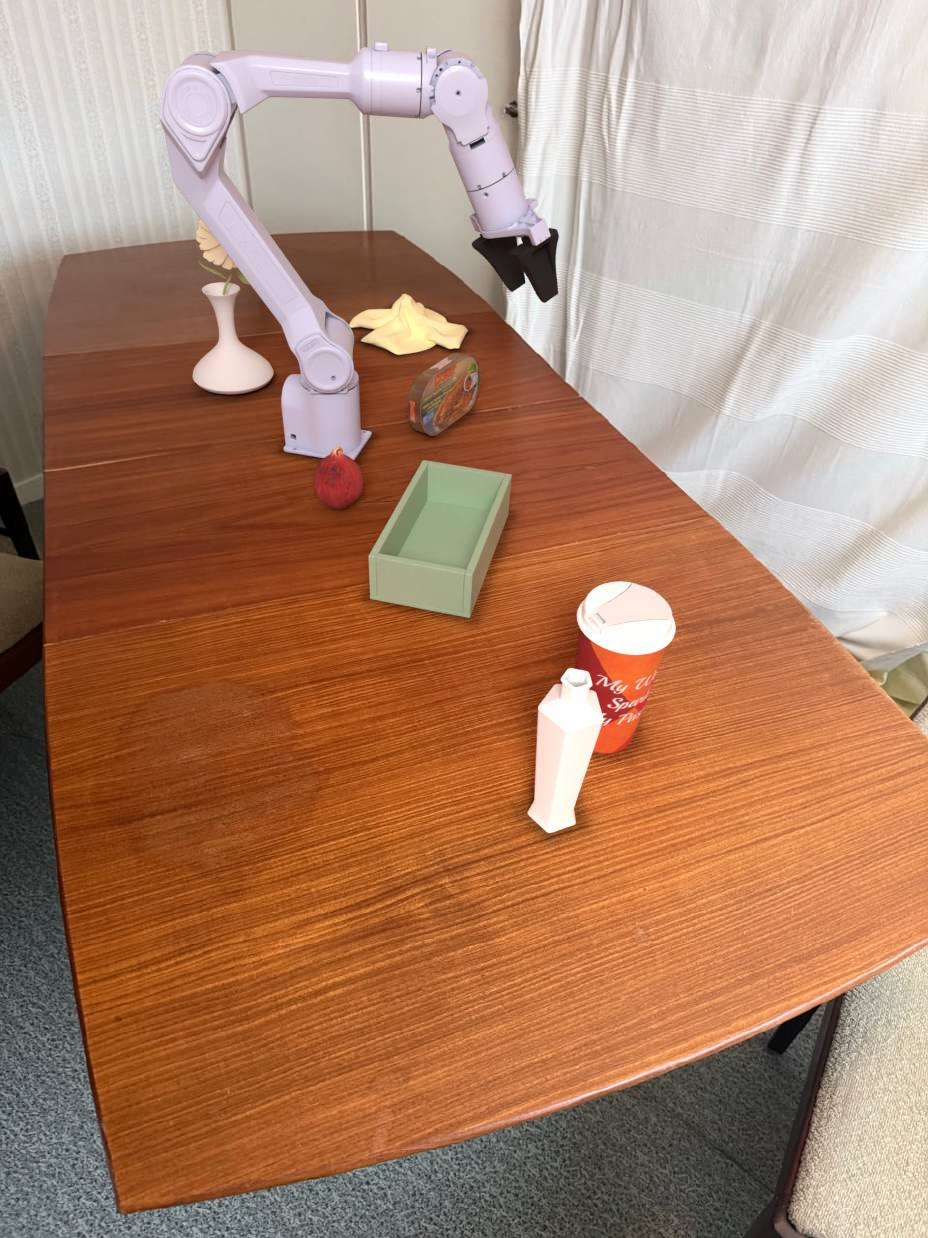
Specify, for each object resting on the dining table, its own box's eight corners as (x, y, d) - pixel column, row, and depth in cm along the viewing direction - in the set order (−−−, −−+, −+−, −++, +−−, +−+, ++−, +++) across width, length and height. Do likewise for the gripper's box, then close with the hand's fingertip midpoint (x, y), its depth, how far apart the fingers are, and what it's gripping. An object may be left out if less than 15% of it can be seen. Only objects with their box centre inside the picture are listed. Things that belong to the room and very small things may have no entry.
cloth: (485, 347, 135) (487, 309, 131) (377, 362, 129) (376, 323, 125) (433, 299, 150) (434, 264, 146) (334, 311, 144) (332, 274, 140)
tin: (422, 445, 110) (423, 386, 104) (403, 438, 111) (402, 379, 105) (481, 404, 120) (484, 347, 114) (462, 398, 121) (465, 341, 115)
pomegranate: (356, 526, 95) (353, 464, 90) (308, 518, 96) (302, 457, 91) (370, 499, 99) (368, 439, 94) (324, 492, 100) (319, 432, 95)
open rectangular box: (369, 599, 85) (368, 556, 82) (422, 499, 100) (422, 459, 96) (469, 618, 84) (472, 575, 80) (508, 514, 98) (512, 474, 95)
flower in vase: (178, 392, 118) (140, 202, 102) (224, 362, 126) (196, 181, 110) (256, 411, 115) (231, 218, 99) (299, 379, 123) (282, 196, 107)
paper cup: (589, 775, 69) (617, 653, 60) (541, 714, 74) (560, 592, 65) (664, 744, 72) (701, 623, 63) (613, 687, 77) (640, 567, 68)
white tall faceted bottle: (519, 790, 68) (537, 656, 58) (571, 788, 68) (598, 654, 58) (526, 838, 64) (547, 704, 54) (582, 835, 65) (613, 702, 55)
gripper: (553, 160, 85) (594, 283, 93) (488, 155, 96) (529, 265, 104) (498, 197, 84) (544, 317, 93) (439, 188, 95) (484, 295, 104)
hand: (533, 292), depth 98 cm, fingers open, 7 cm apart
